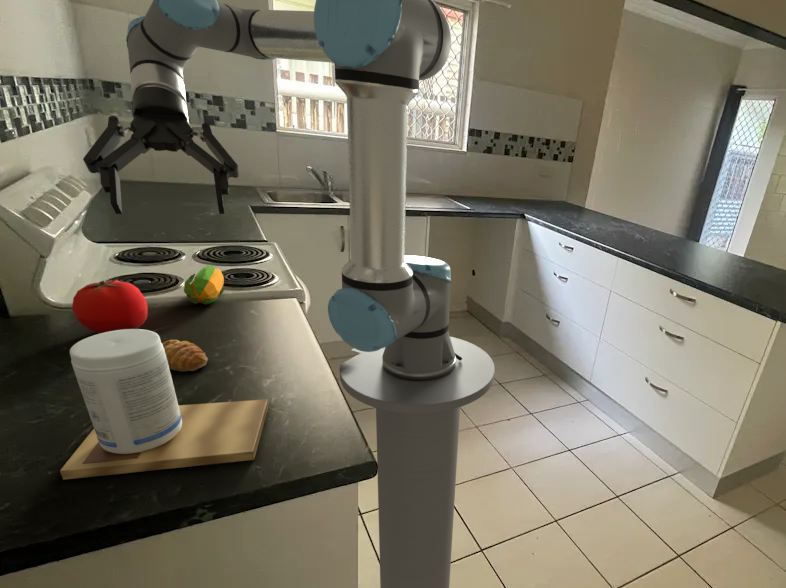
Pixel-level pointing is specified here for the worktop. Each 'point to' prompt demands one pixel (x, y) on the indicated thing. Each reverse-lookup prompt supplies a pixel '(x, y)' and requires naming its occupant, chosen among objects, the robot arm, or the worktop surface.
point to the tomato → (110, 306)
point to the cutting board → (182, 442)
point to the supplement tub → (127, 389)
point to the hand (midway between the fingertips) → (171, 209)
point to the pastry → (184, 355)
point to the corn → (205, 285)
